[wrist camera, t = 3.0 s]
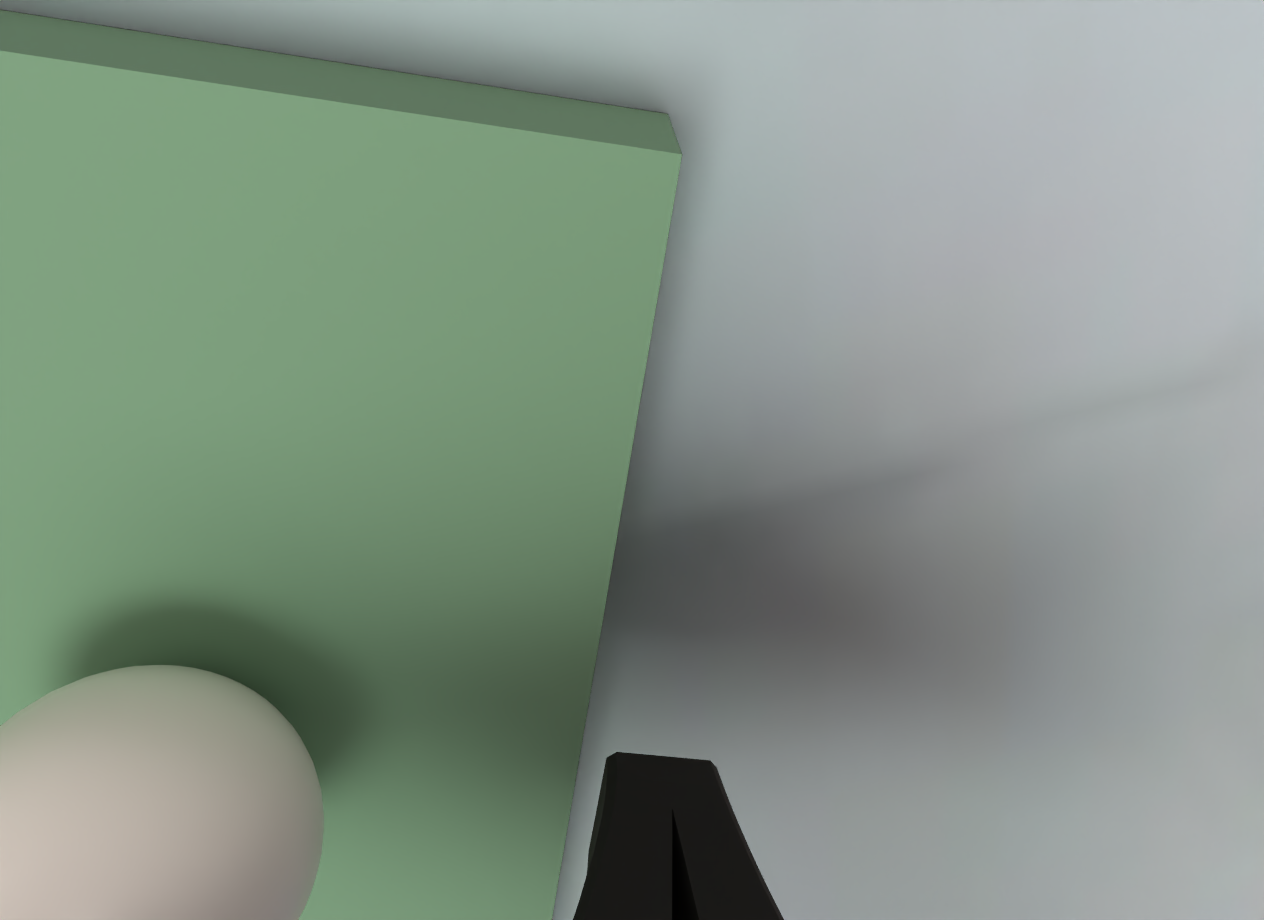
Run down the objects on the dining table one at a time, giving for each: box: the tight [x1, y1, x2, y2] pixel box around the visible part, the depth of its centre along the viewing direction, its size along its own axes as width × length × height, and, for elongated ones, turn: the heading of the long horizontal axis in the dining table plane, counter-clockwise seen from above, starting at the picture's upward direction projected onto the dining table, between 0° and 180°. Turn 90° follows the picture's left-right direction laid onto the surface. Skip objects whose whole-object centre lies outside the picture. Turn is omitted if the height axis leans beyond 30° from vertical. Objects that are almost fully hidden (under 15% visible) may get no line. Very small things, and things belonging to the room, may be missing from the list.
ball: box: [0, 665, 324, 920], centre depth 10 cm, size 4×4×4 cm
